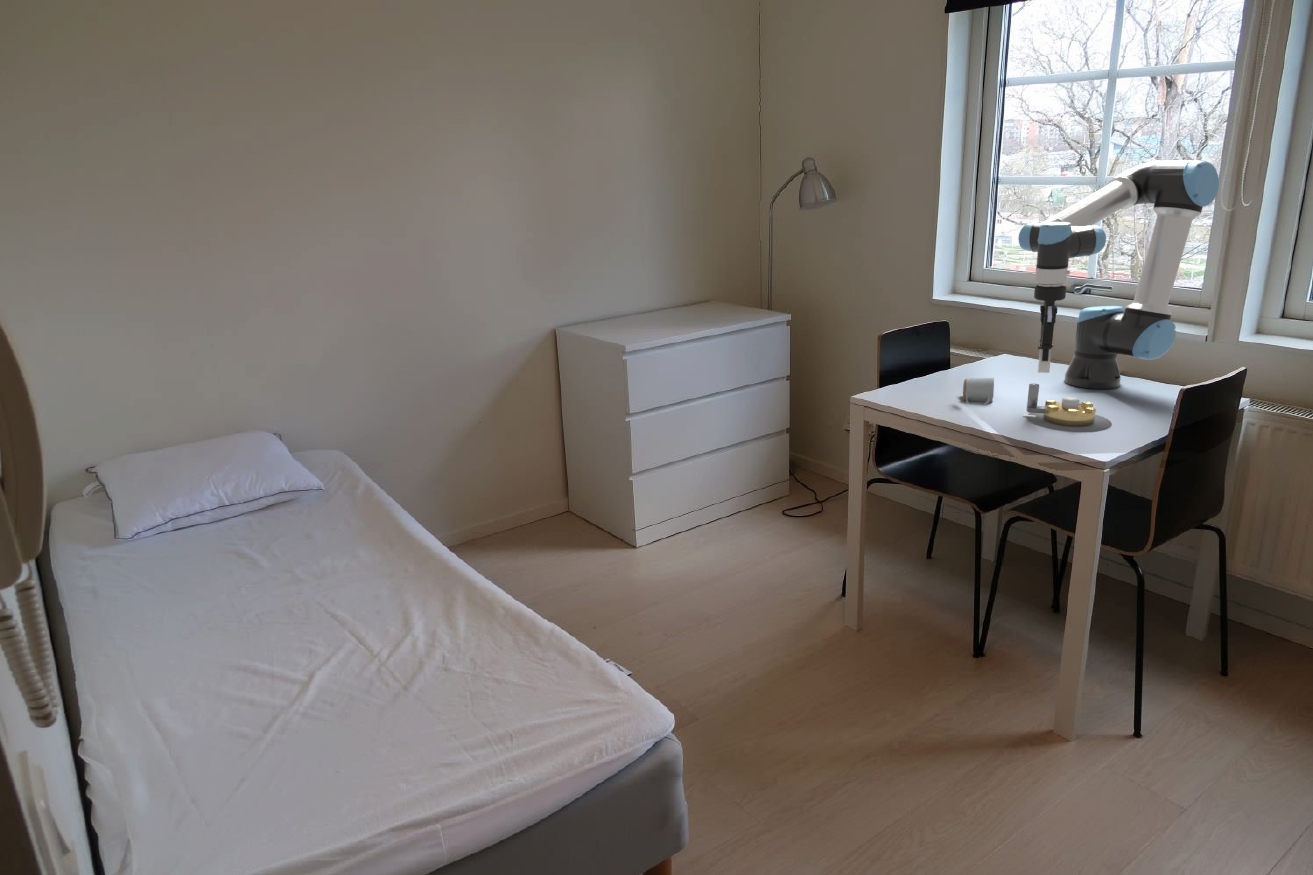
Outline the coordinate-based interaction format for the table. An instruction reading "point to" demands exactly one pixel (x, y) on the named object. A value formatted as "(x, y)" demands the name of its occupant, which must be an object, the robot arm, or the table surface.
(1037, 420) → the base
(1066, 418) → the gold crank wheel
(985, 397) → the ceramic mug
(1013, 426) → the table surface
